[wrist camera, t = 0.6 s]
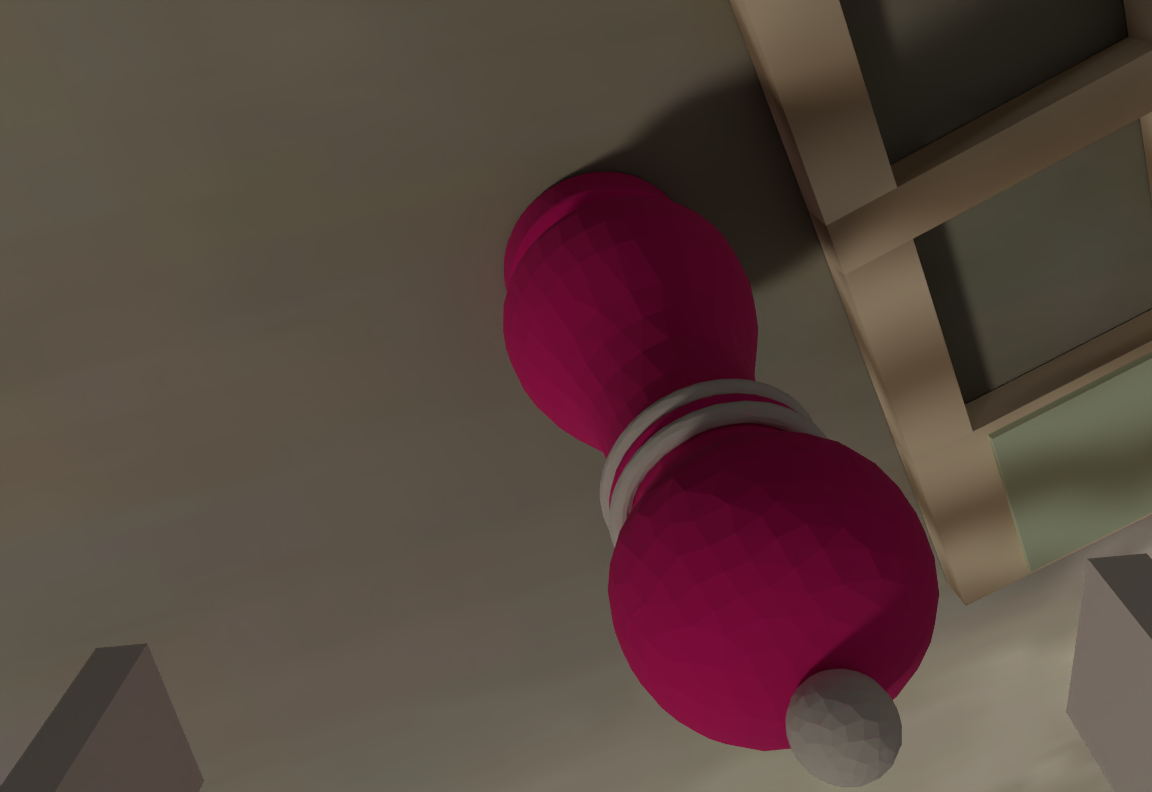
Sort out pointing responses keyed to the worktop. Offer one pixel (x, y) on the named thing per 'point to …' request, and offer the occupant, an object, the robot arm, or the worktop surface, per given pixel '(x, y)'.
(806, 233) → the worktop surface
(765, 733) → the pepper mill
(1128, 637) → the robot arm
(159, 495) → the worktop surface
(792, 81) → the board
